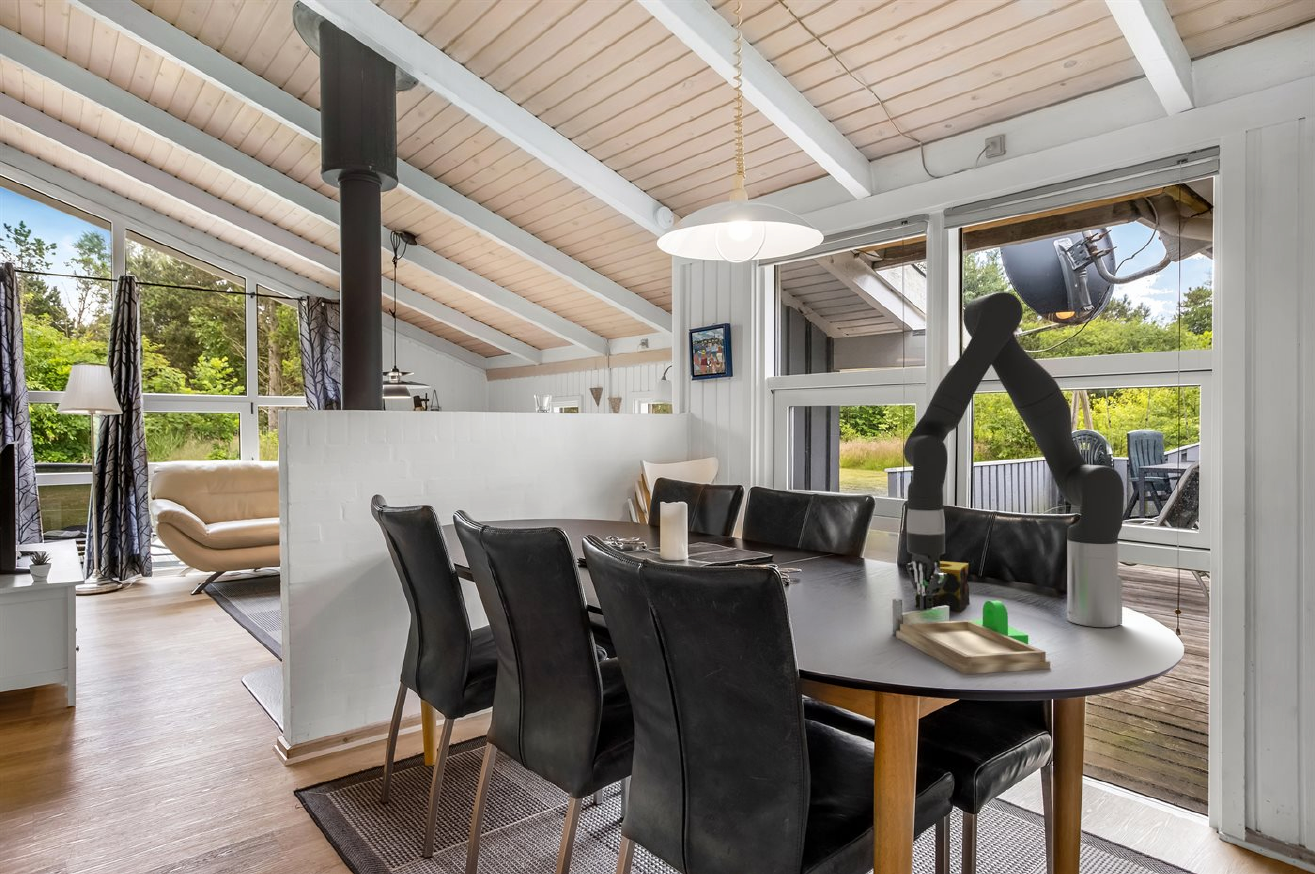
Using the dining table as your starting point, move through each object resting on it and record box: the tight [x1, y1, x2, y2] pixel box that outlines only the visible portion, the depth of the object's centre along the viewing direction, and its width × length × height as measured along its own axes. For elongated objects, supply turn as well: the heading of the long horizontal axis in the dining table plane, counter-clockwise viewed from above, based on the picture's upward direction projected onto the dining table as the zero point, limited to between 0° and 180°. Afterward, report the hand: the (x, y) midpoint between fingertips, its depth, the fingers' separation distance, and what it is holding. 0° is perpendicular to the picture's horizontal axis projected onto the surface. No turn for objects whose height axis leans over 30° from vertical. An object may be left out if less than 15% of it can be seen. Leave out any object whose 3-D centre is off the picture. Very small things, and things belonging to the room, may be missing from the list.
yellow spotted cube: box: [914, 560, 971, 613], centre depth 171 cm, size 10×10×10 cm
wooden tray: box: [895, 619, 1051, 675], centre depth 136 cm, size 16×23×3 cm
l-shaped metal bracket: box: [892, 598, 950, 637], centre depth 151 cm, size 16×2×7 cm, turn 121°
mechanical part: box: [970, 600, 1029, 645], centre depth 147 cm, size 12×6×8 cm, turn 4°
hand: (926, 612), depth 156 cm, fingers closed
